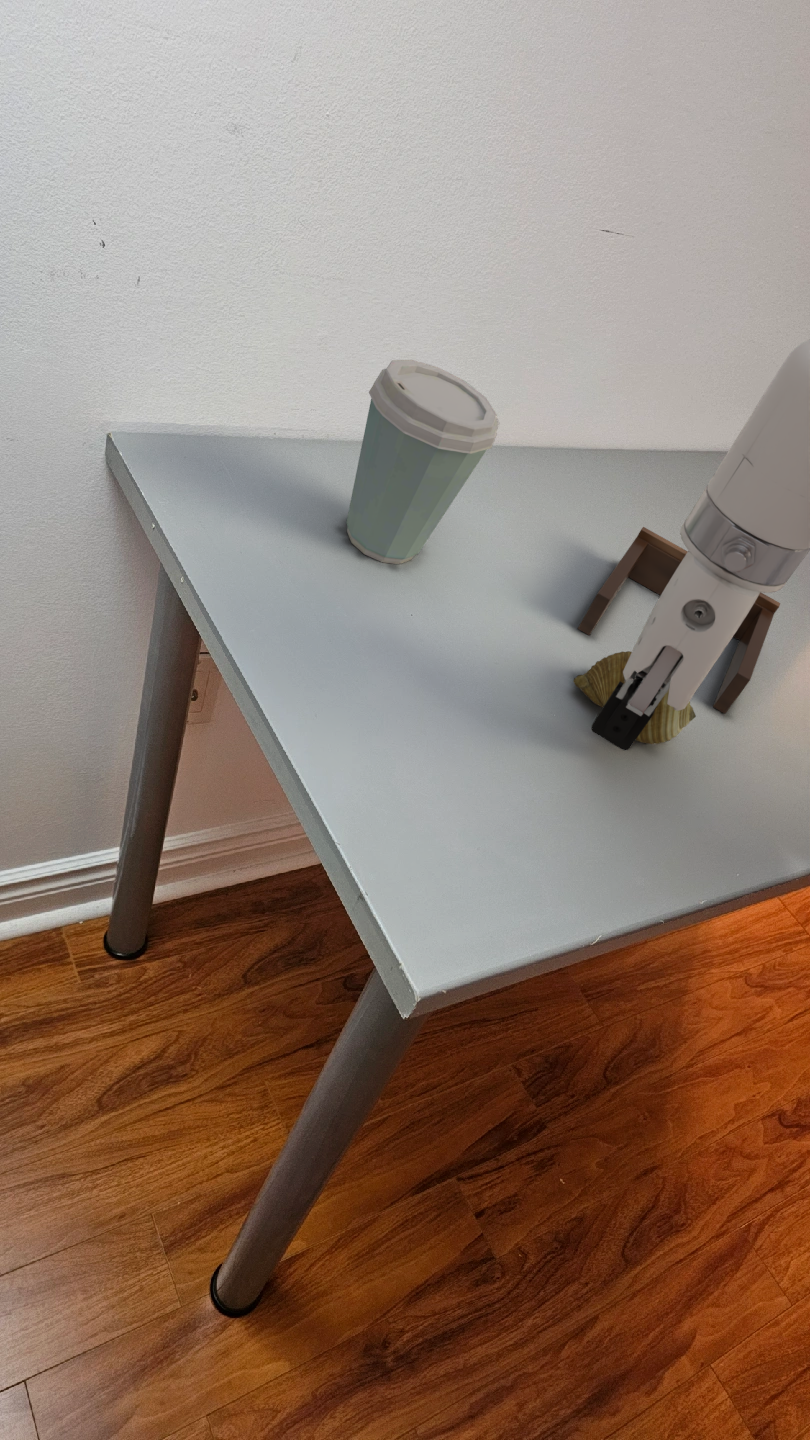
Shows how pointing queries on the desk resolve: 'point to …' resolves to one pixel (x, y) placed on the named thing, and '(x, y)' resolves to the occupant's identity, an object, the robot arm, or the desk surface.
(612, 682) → the seashell
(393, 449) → the disposable coffee cup
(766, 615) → the frame
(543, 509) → the desk surface
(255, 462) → the desk surface
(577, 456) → the desk surface
